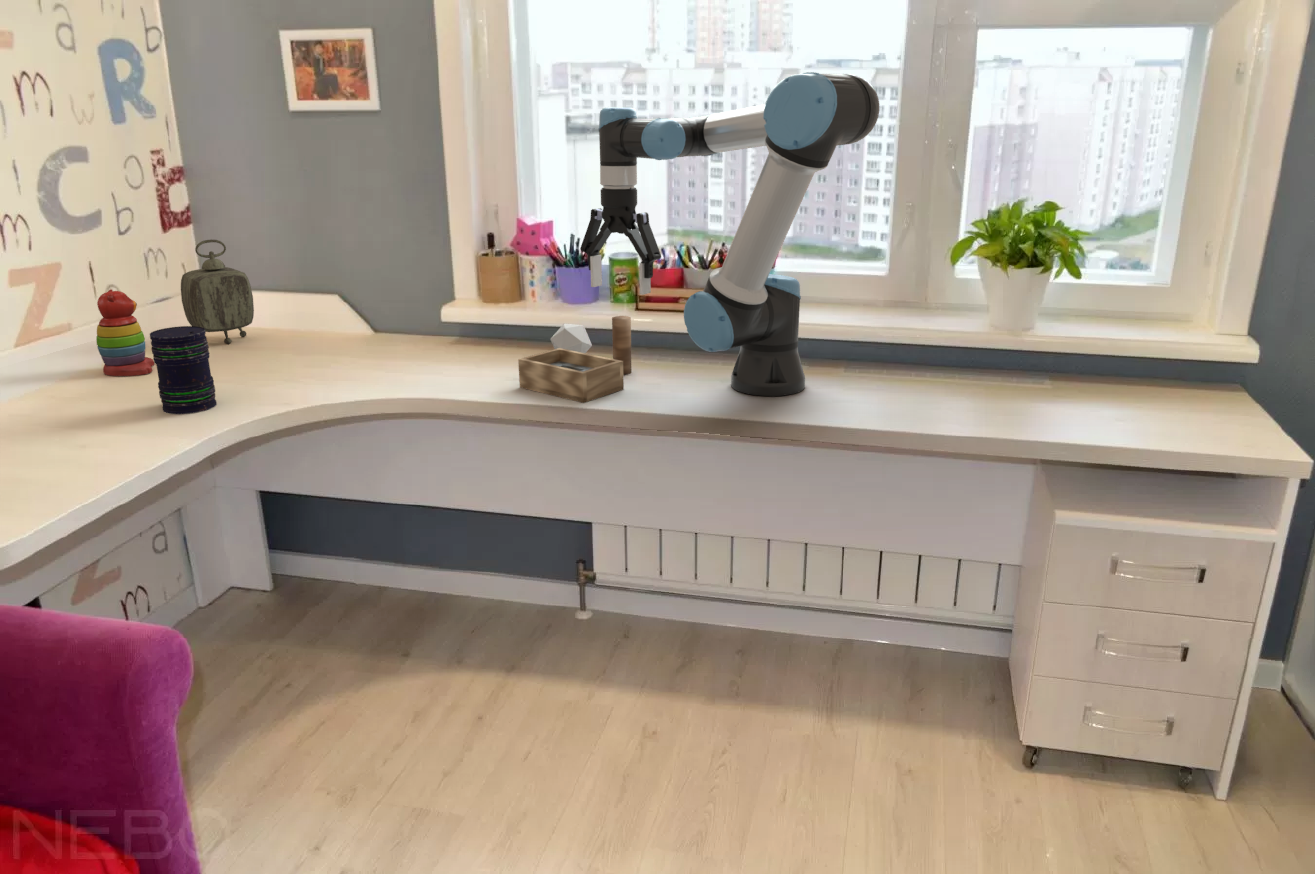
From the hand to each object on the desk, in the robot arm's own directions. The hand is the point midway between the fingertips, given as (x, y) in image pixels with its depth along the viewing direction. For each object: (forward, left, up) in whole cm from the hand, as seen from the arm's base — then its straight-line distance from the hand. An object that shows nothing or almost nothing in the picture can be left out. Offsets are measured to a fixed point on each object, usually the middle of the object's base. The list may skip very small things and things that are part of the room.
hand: (620, 290), depth 211 cm
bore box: (0, +16, -18) cm, 24 cm away
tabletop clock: (+95, +39, -18) cm, 104 cm away
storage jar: (+50, +71, -18) cm, 89 cm away
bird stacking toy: (+87, +66, -18) cm, 111 cm away
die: (+17, -2, -18) cm, 25 cm away
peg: (0, 0, -18) cm, 18 cm away
